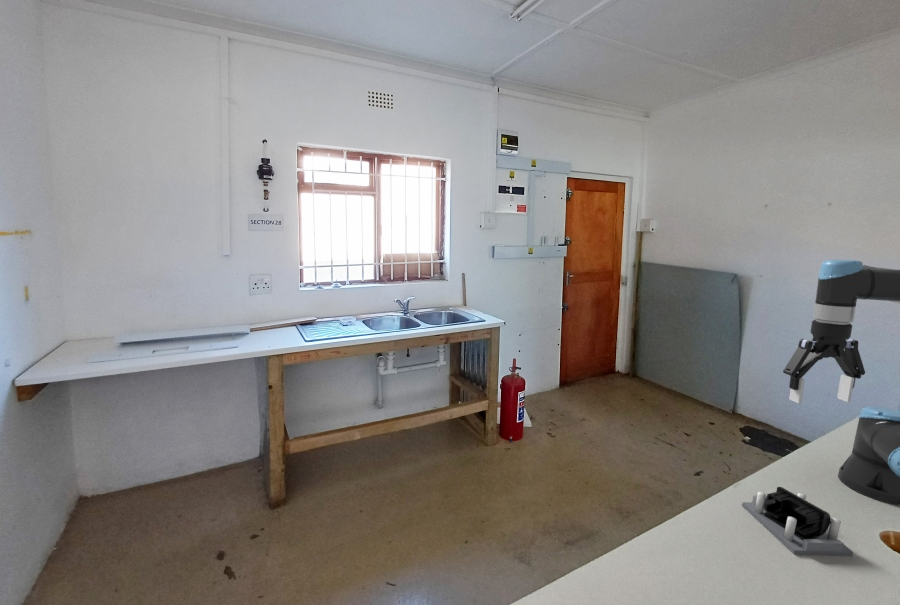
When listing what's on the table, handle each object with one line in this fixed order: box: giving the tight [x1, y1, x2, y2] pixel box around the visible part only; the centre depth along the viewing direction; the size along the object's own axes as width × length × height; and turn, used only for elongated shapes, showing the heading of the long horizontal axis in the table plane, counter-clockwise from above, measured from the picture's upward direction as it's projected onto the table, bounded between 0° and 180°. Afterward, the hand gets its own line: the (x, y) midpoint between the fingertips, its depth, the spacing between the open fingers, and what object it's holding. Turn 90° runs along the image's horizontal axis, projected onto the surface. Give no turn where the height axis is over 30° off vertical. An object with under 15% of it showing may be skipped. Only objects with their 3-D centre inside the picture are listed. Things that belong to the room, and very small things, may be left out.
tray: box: [741, 491, 854, 557], centre depth 97 cm, size 13×16×6 cm
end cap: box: [765, 486, 832, 540], centre depth 96 cm, size 10×7×7 cm
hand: (819, 400), depth 106 cm, fingers open, 13 cm apart
